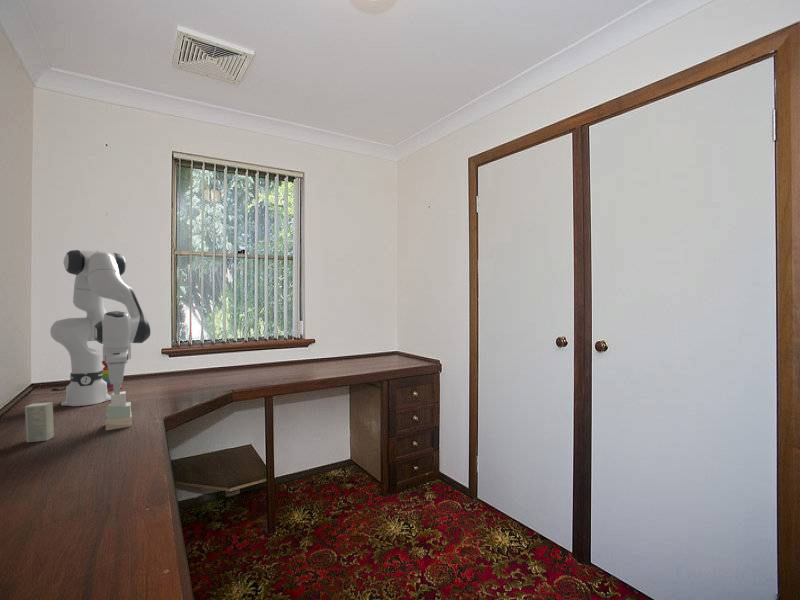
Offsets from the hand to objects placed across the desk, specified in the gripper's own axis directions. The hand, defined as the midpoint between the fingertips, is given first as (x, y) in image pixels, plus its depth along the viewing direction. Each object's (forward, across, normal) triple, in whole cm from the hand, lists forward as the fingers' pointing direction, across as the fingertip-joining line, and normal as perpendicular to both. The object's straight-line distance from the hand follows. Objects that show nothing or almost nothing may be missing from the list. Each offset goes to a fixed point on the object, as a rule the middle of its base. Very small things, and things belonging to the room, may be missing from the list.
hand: (117, 391), depth 157 cm
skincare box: (+13, +4, -22) cm, 26 cm away
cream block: (+5, +1, 0) cm, 5 cm away
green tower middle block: (+9, +1, +1) cm, 9 cm away
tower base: (+13, +1, 0) cm, 13 cm away
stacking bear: (+14, -76, -5) cm, 78 cm away
